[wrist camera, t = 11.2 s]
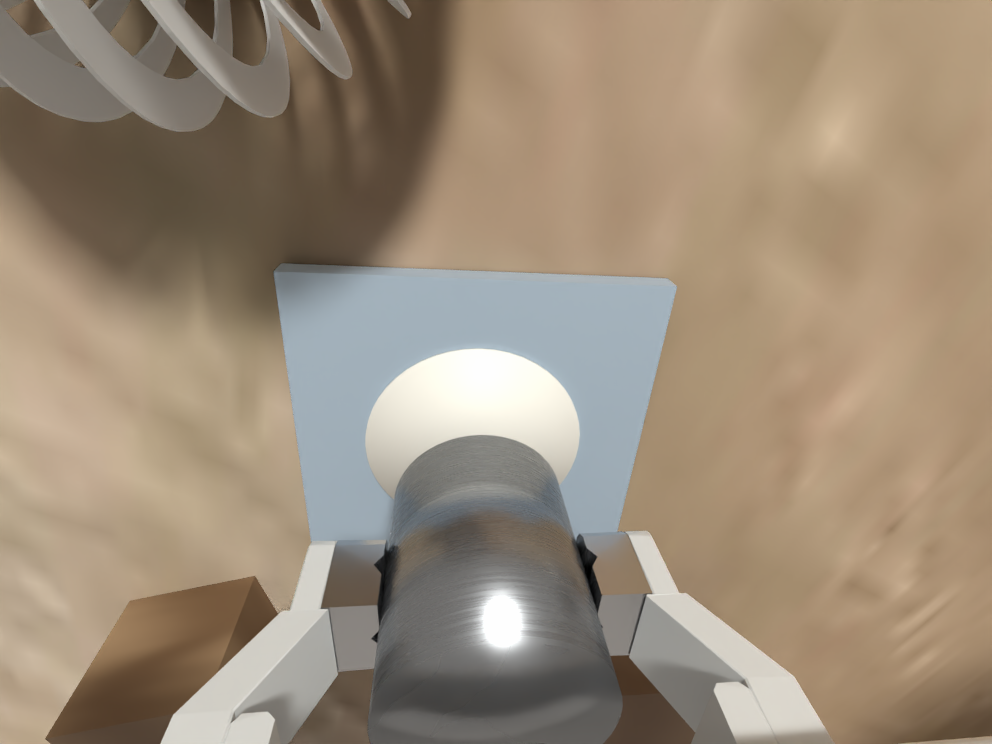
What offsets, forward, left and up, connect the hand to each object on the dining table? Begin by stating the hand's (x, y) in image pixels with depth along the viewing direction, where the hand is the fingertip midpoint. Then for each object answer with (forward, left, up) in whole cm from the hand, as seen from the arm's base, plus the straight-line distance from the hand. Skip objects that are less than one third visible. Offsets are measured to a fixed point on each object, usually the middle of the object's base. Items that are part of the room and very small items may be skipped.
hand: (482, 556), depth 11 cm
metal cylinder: (0, 0, -2) cm, 2 cm away
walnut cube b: (+8, +7, -4) cm, 12 cm away
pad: (0, -1, -4) cm, 4 cm away
